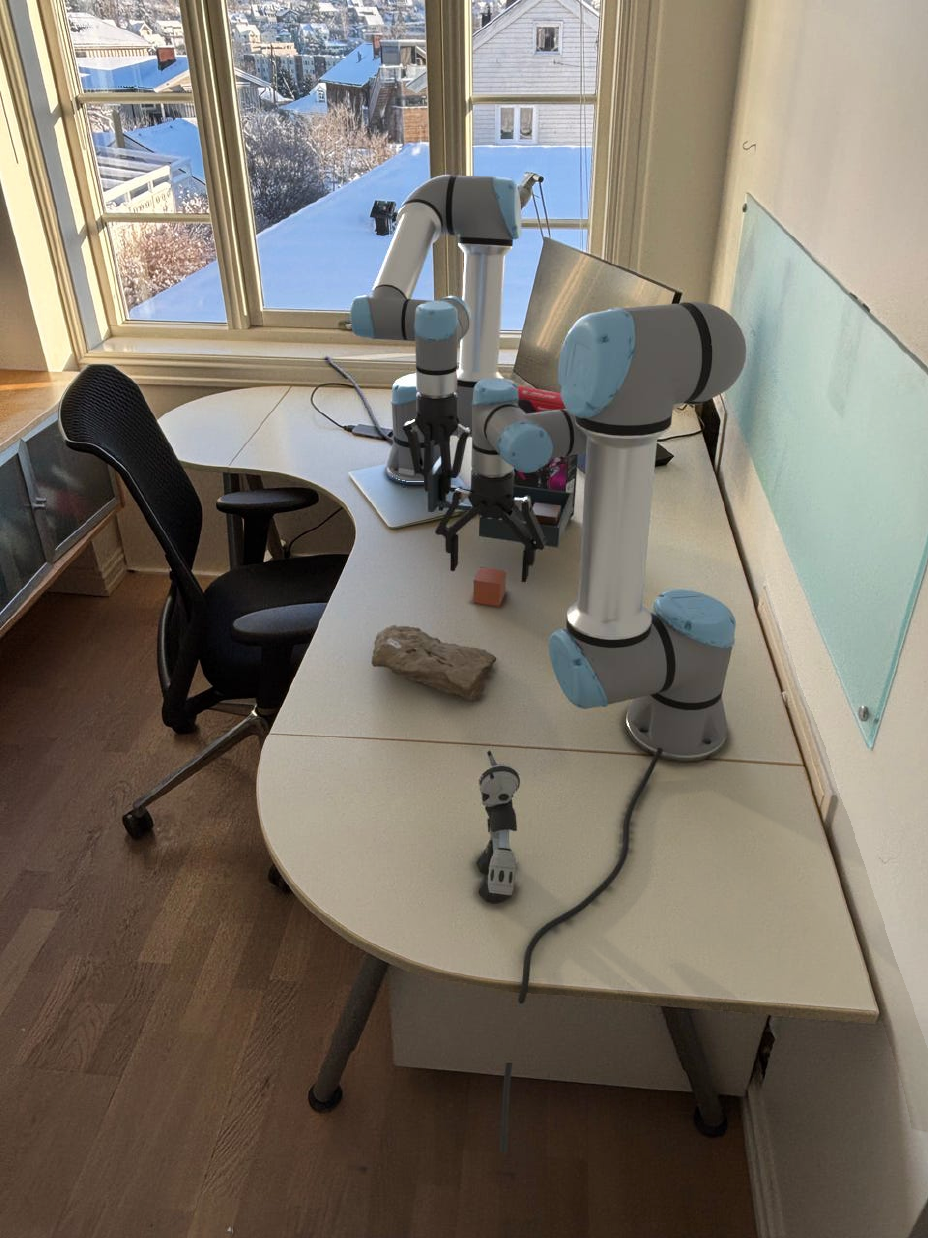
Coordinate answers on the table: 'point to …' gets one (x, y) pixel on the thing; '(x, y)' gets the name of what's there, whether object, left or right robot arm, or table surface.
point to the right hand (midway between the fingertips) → (489, 573)
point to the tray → (498, 527)
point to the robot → (498, 831)
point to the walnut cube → (547, 513)
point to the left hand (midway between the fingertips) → (437, 506)
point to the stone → (433, 661)
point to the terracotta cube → (489, 586)
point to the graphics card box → (557, 470)
